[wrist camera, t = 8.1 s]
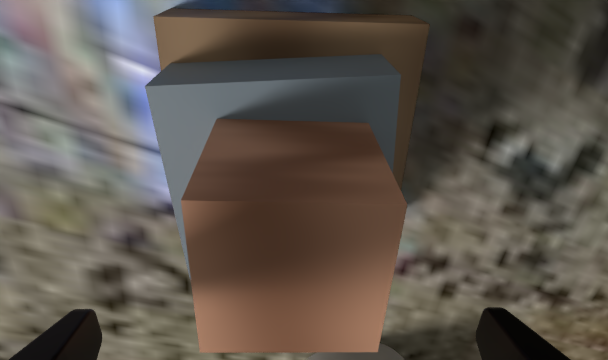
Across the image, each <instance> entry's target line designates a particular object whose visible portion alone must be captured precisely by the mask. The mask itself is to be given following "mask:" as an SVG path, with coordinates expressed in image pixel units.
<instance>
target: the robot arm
mask: <svg viewBox="0 0 608 360" xmlns="http://www.w3.org/2000/svg"><path fill="white" fill-rule="evenodd" d="M476 341H477V345H478V348H479V351H480V355H481V358H482V360H570V359H569V358H568V357H567V356H565V355H564V354H563V353H561V352H560V351H559V350H558V349H556V348H555V347H554V346H552V345H551V344H550V343H548V342H547V341H546V340H545V339H543V338H542V337H541V336H539V335H538V334H537V333H536V332H534V331H533V330H532V329H530V328H529V327H528V326H527V325H525V324H524V323H523V322H521V321H520V320H519V319H517V318H516V317H515V316H514V315H512V314H511V313H510V312H508V311H507V310H506V309H504V308H500V307H488V308H485V309H484V310H483V313H482V315H481V318H480V321H479V324H478V327H477V330H476ZM101 343H102V332H101V329H100V326H99V323H98V319H97V316H96V313H95V311H94V310H92V309H75V310H73V311H71V312H69V313H68V314H67V315H66V316H64V317H63V318H62V319H60V320H59V321H58V322H57V323H55V324H54V325H53V326H51V327H50V328H49V329H48V330H46V331H45V332H44V333H42V334H41V335H40V336H38V337H37V338H36V339H35V340H33V341H32V342H31V343H29V344H28V345H27V346H26V347H24V348H23V349H22V350H20V351H19V352H18V353H17V354H15V355H14V356H13V357H11V358H10V359H9V360H97V357H98V353H99V350H100V347H101Z"/></svg>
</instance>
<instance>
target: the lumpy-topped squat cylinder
mask: <svg viewBox="0 0 608 360" xmlns="http://www.w3.org/2000/svg"><path fill="white" fill-rule="evenodd" d="M305 360H405V359H404V358H403V357H402V356H401V355H400V354H399V353H397V352H396V351H395V350H394V349H392V348H390V347H389V346H387V345H384V344H381V343H380V344H379V349H378V352H317V353H315V354H313V355H312V356H310V357H308V358H307V359H305Z"/></svg>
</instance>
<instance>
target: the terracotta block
mask: <svg viewBox="0 0 608 360" xmlns="http://www.w3.org/2000/svg"><path fill="white" fill-rule="evenodd" d="M181 205H182V213H183V221H184V229H185V237H186V245H187V253H188V261H189V268H190V276H191V284H192V292H193V300H194V308H195V316H196V324H197V332H198V340H199V347H200V352H378V349H379V344H380V339H381V334H382V329H383V324H384V319H385V314H386V309H387V304H388V299H389V294H390V289H391V284H392V279H393V274H394V269H395V264H396V259H397V254H398V249H399V244H400V239H401V234H402V229H403V224H404V219H405V214H406V209H407V203H406V201H405V199H404V196H403V194H402V192H401V190H400V188H399V186H398V184H397V182H396V180H395V178H394V175H393V173H392V171H391V169H390V167H389V165H388V163H387V161H386V159H385V157H384V154H383V152H382V150H381V148H380V146H379V144H378V142H377V140H376V138H375V136H374V133H373V131H372V129H371V127H370V125H369V123H355V122H320V121H283V120H246V119H216V121H215V124H214V126H213V128H212V131H211V133H210V135H209V137H208V140H207V142H206V144H205V146H204V149H203V151H202V153H201V156H200V158H199V160H198V162H197V165H196V167H195V169H194V172H193V174H192V176H191V178H190V181H189V183H188V185H187V188H186V190H185V192H184V194H183V197H182V199H181Z"/></svg>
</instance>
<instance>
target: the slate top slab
mask: <svg viewBox="0 0 608 360" xmlns="http://www.w3.org/2000/svg"><path fill="white" fill-rule="evenodd" d="M400 80H401V74H400V73H399V72H398V71H397V70H396V69H395V68H394V67H393V66H392V65H391V64H390V63H389V62H388V61H387V60H386V59H385V58H384V56H383V55H382V54H372V55H350V56H327V57H305V58H282V59H260V60H237V61H215V62H192V63H170V64H168V65H167V66H166V67H165V68H164V69H163V70H162V71H161V72H160V73H159V74H158V75H157V76H156V77H154V78H153V79H152V80H151V81H150V82H149V83H148V84H147V85H146V86H145V89H146V93H147V97H148V101H149V106H150V110H151V114H152V119H153V123H154V127H155V131H156V136H157V140H158V144H159V149H160V153H161V157H162V161H163V166H164V170H165V174H166V179H167V183H168V187H169V191H170V196H171V200H172V204H173V209H174V213H175V217H176V221H177V226H178V230H179V234H180V238H181V243H182V247H183V251H184V256H185V260H186V264H187V268H188V273H189V277H190V279H191V276H190V268H189V261H188V253H187V245H186V237H185V229H184V221H183V213H182V205H181V199H182V197H183V194H184V192H185V190H186V188H187V185H188V183H189V181H190V178H191V176H192V174H193V172H194V169H195V167H196V165H197V162H198V160H199V158H200V156H201V153H202V151H203V149H204V146H205V144H206V142H207V140H208V137H209V135H210V133H211V131H212V128H213V126H214V124H215V121H216V119H246V120H283V121H320V122H355V123H369V125H370V127H371V129H372V131H373V133H374V136H375V138H376V140H377V142H378V144H379V146H380V148H381V150H382V152H383V154H384V157H385V159H386V161H387V163H388V165H389V167H390V169H391V171H392V173H393V163H394V151H395V139H396V128H397V116H398V104H399V92H400Z"/></svg>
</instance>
